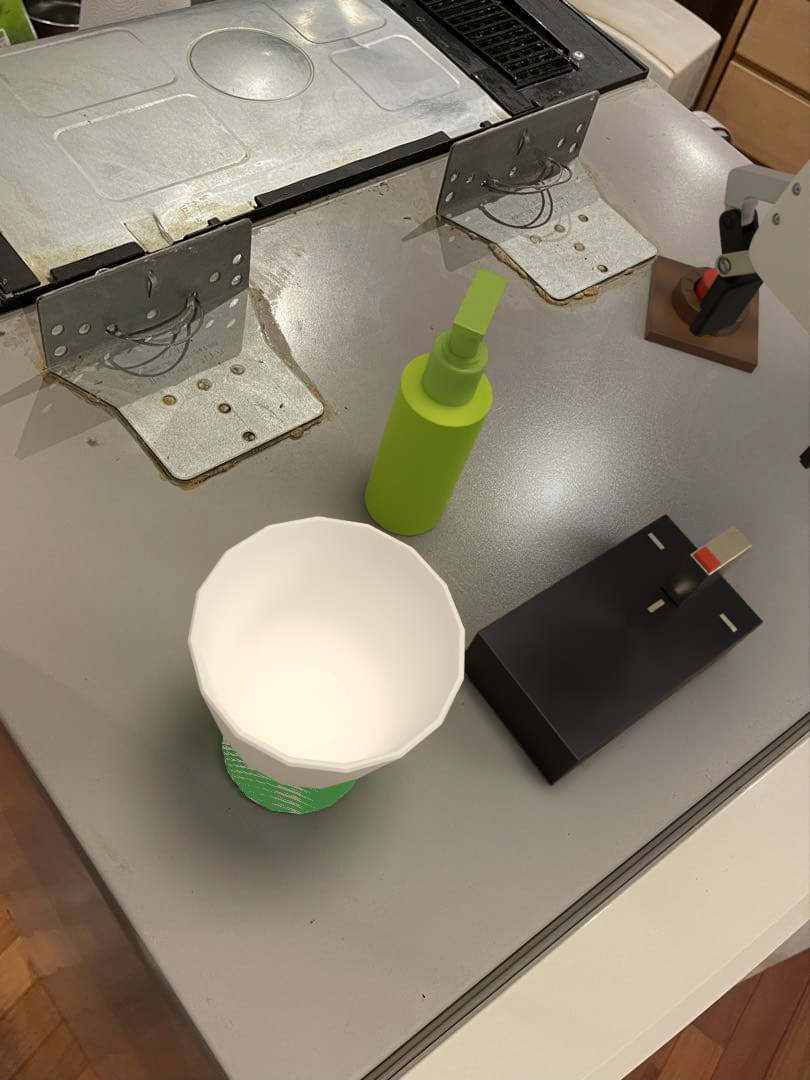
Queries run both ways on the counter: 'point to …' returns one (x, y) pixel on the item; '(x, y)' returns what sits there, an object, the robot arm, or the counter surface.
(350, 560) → the cup
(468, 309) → the soap dispenser
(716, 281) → the robot arm
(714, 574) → the red-tipped black block
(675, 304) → the block
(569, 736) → the black switch box
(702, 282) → the button
